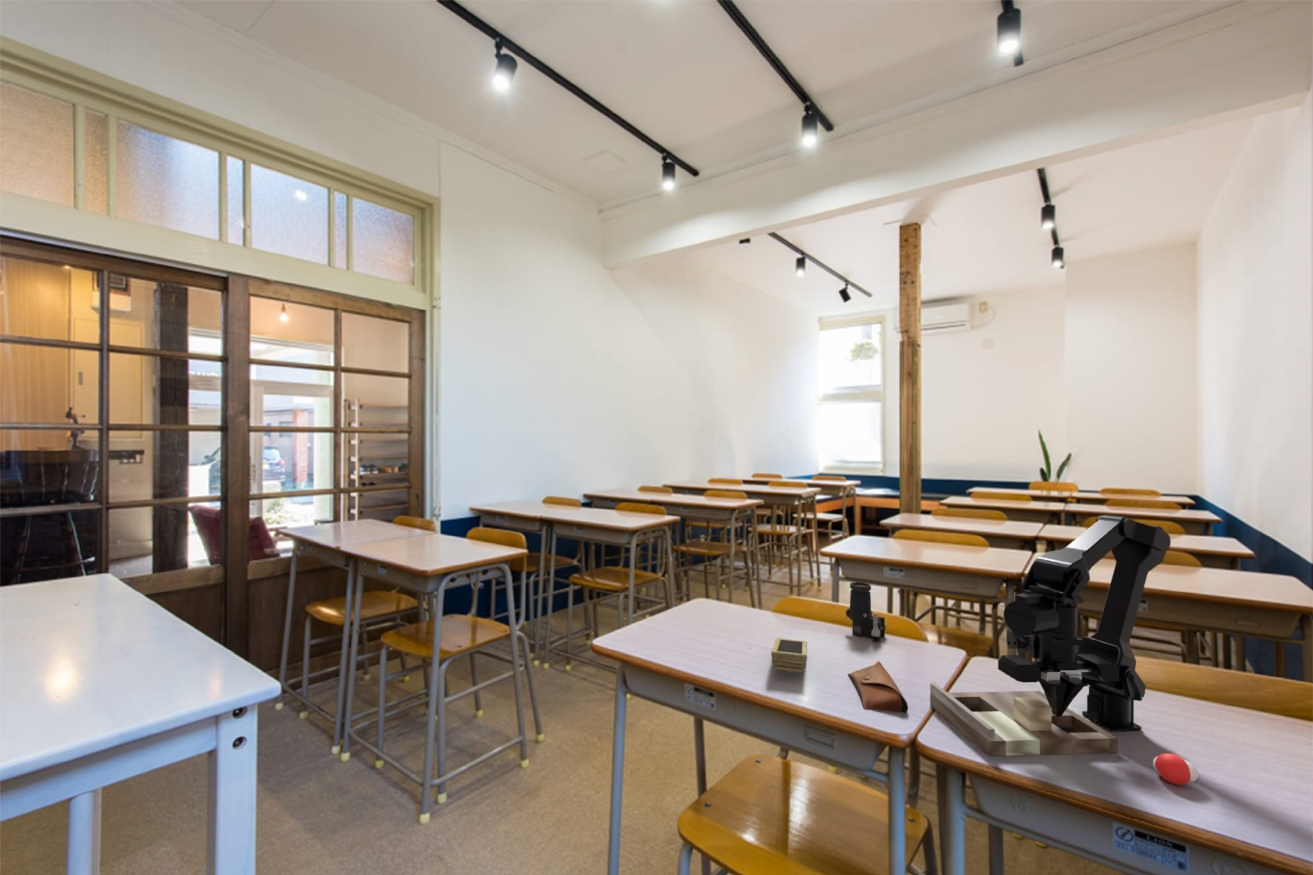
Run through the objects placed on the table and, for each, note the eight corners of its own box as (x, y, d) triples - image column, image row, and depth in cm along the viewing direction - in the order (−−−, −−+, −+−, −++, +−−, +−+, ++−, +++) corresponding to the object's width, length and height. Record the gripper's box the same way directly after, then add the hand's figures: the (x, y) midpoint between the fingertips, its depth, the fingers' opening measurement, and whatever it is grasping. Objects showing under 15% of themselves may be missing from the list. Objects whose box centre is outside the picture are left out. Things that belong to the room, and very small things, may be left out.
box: (770, 675, 122) (771, 651, 123) (773, 654, 143) (774, 634, 144) (809, 680, 120) (809, 655, 121) (806, 658, 141) (807, 638, 142)
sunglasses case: (844, 672, 127) (860, 648, 126) (871, 689, 126) (887, 665, 126) (864, 710, 109) (882, 682, 108) (896, 730, 108) (914, 702, 108)
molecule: (1163, 786, 85) (1163, 759, 85) (1148, 769, 90) (1148, 743, 90) (1204, 794, 84) (1204, 766, 84) (1187, 776, 88) (1187, 749, 88)
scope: (878, 591, 145) (840, 584, 152) (877, 644, 145) (840, 635, 152) (887, 585, 152) (851, 579, 158) (887, 635, 151) (851, 627, 158)
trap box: (1039, 703, 113) (1039, 681, 113) (1117, 752, 95) (1117, 726, 95) (930, 705, 111) (930, 682, 111) (988, 755, 93) (988, 729, 93)
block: (1034, 718, 101) (1034, 696, 101) (1051, 730, 97) (1051, 707, 97) (1013, 719, 101) (1013, 697, 101) (1029, 730, 97) (1029, 707, 97)
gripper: (1070, 614, 108) (1070, 694, 108) (978, 614, 107) (978, 695, 107) (1121, 634, 97) (1121, 723, 97) (1020, 634, 96) (1019, 724, 96)
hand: (1056, 715), depth 99 cm, fingers closed
